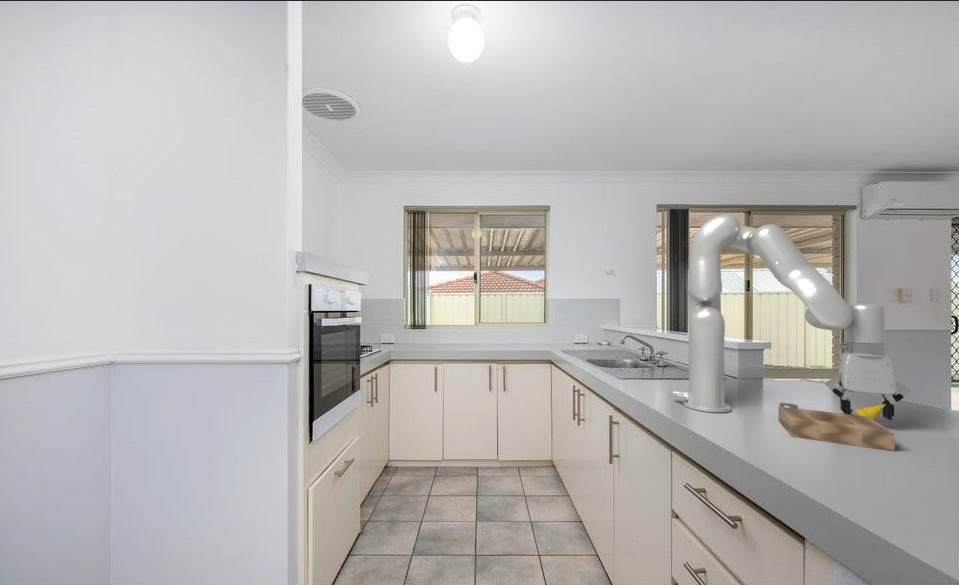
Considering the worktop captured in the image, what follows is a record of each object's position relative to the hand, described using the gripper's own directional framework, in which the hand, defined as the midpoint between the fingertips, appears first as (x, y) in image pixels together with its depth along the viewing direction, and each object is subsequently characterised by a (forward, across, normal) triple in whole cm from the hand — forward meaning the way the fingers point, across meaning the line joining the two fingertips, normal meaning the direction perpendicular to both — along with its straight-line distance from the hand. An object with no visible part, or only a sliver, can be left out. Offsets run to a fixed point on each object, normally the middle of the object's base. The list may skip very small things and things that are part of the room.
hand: (866, 415), depth 99 cm
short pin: (+3, -16, -1) cm, 17 cm away
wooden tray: (+3, -10, -12) cm, 16 cm away
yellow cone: (+3, 0, 0) cm, 3 cm away
